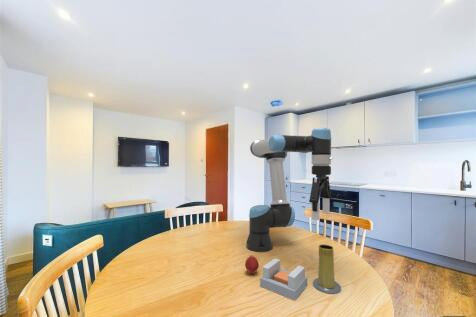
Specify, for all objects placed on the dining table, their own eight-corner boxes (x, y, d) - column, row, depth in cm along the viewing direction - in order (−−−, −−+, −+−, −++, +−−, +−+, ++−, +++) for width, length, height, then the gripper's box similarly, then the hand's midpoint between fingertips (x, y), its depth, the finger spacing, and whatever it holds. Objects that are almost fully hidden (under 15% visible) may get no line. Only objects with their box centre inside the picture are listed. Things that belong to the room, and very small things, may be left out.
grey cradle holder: (260, 286, 80) (260, 267, 80) (275, 273, 89) (275, 257, 89) (294, 300, 71) (294, 279, 71) (307, 285, 80) (307, 266, 81)
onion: (244, 270, 92) (244, 252, 92) (257, 269, 92) (257, 251, 93) (246, 277, 86) (246, 257, 86) (259, 276, 87) (259, 257, 87)
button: (273, 285, 79) (273, 275, 80) (280, 279, 84) (280, 270, 84) (287, 290, 76) (287, 280, 76) (293, 284, 80) (293, 274, 81)
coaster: (309, 287, 79) (309, 285, 79) (317, 276, 87) (317, 275, 87) (337, 297, 73) (337, 295, 73) (343, 285, 80) (343, 283, 80)
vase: (339, 287, 78) (338, 248, 78) (325, 290, 76) (324, 250, 77) (327, 279, 83) (326, 243, 84) (314, 281, 82) (314, 244, 82)
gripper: (320, 165, 75) (320, 224, 74) (338, 165, 94) (338, 212, 94) (300, 165, 80) (300, 220, 79) (321, 165, 99) (321, 209, 98)
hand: (321, 216), depth 86 cm, fingers open, 13 cm apart
